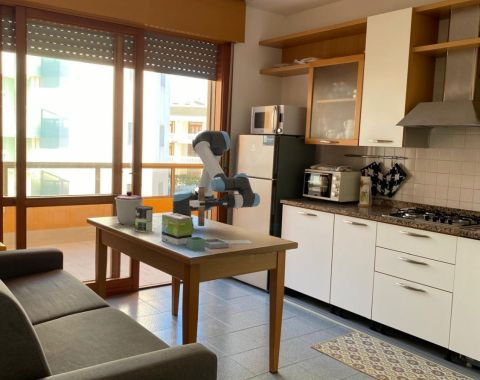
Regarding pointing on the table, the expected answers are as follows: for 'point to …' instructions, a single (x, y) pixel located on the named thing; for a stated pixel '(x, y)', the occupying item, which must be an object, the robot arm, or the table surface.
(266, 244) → the table surface
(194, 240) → the cup
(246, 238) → the table surface
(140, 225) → the coffee can
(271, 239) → the table surface
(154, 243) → the table surface
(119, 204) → the canister
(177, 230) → the tea box
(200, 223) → the dowel
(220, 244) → the tray
